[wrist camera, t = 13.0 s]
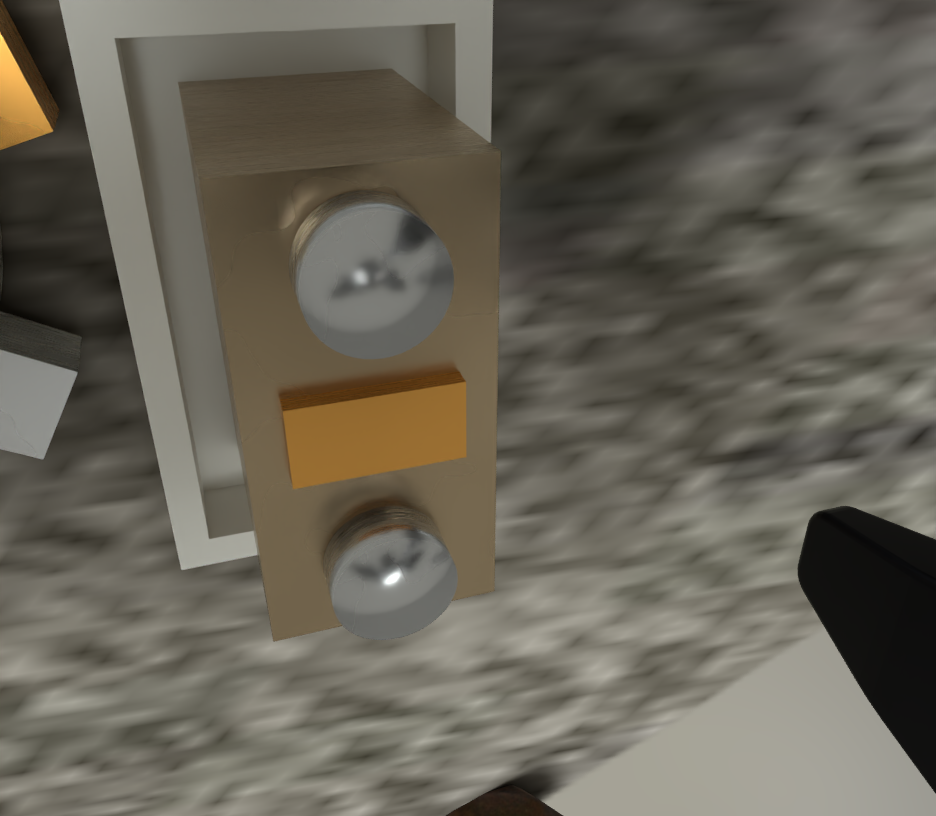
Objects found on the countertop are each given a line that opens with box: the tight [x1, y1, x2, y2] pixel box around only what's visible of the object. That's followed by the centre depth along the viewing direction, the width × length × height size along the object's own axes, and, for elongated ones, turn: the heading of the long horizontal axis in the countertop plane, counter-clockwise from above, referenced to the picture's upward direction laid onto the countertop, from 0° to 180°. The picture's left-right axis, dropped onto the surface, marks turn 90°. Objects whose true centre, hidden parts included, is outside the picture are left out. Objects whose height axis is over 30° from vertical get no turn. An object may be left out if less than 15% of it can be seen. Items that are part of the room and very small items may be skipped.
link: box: [178, 68, 501, 641], centre depth 14 cm, size 7×4×6 cm, turn 0°
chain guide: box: [59, 0, 493, 570], centre depth 16 cm, size 10×6×2 cm, turn 0°
